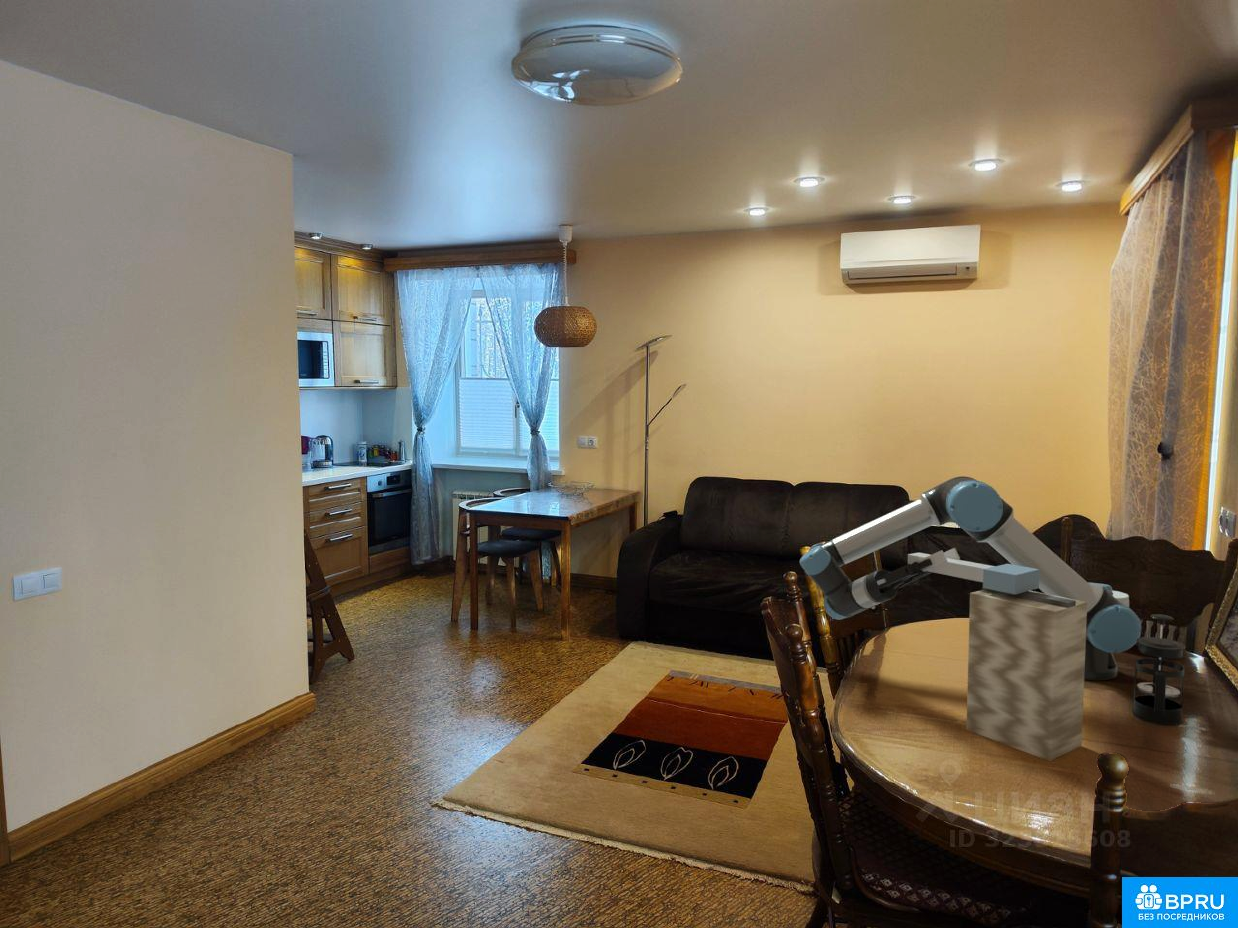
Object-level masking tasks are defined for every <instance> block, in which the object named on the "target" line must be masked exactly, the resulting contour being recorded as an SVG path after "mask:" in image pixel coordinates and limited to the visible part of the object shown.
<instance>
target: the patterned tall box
mask: <svg viewBox="0 0 1238 928" xmlns="http://www.w3.org/2000/svg"><path fill="white" fill-rule="evenodd" d="M968 619H969V621H968V624H969V625H968V657H967V658H968V660H967V662H968V663H967V691H966V693H967V698H966V699H967V700H966V731H969V732H971V733H974V734H977V735H980V736H982V737H985V738H988V739H990V740H993V741H995V742H998V743H1001V744H1003V745H1007V746H1009V747H1012V748H1014V749H1017V750H1019V751H1022V752H1024V753H1027V754H1031V755H1033V756H1036V757H1038V758H1041V759H1043V760H1047V761H1049V762H1051V761H1053V760H1055V759H1057V758H1059V757H1062V756H1064V755H1066V754H1068V753H1070V752H1072V751H1074V750H1075V749H1078V748H1080V747H1081V746H1083V745H1082V744H1083V722H1084V721H1083V719H1084V717H1083V715H1084V693H1085V679H1084V672H1085V646H1086V621H1087V602H1084V601H1079V600H1074V599H1069V598H1064V597H1059V596H1054V595H1049V594H1045V593H1044V592H1039V591H1035V590H1034V591H1033V590H1030V591H1026V592H1022V593H1019V594H1010V593H1005V592H1001V591H996V590H991V589H986V588H983V587H982V589H981V590H977V591H973V592H972V591H971V592H970V593H969V617H968Z"/></svg>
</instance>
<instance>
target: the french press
mask: <svg viewBox="0 0 1238 928" xmlns="http://www.w3.org/2000/svg"><path fill="white" fill-rule="evenodd" d="M1150 618H1152V619H1155V620H1158V624H1159V625H1160V627H1159V628H1160V629H1159V630H1160V631H1159V637H1157V636H1155V637H1154V636H1142V637H1141V636H1140V637H1139V638H1138V639H1137V642H1136V644H1138V651H1139V652H1140V653H1141V654H1145V655H1147V656H1151V657H1141V658H1137V659H1135V663H1134V664H1135V667H1134V668H1135V669H1134V688H1133V689H1134V690H1133V709H1132V710H1131V713H1132V716H1133V717H1136V718H1137V719H1138V720H1142V721H1143V722H1147V723H1151V724H1155V725H1159V726H1171V727H1172V726H1179V725H1182V724H1183V723H1184V719H1183V707H1184V706H1183V705H1184V704H1183V703H1184V687H1185V686H1184V685H1185V684H1184V683H1185V667H1184V665H1182V664H1180V663H1178V662H1175V661H1173V660H1172V661H1171V660H1168V659H1180V658H1183V656H1184V655H1183V653H1184V651H1183V650H1186V648H1187V647H1186V645H1185V644H1184V643H1182V642H1180V641H1176V640H1174V639H1171V638H1170V639H1169V638H1165V637H1163V626H1165V621H1173V620H1174V618H1173V617H1172V616H1169V615H1167V614H1166V615H1165V614H1160V613H1158V614H1157V613H1156V614H1151V615H1150ZM1154 657H1155V658H1154ZM1145 665H1153V668H1151V667H1146V666H1145ZM1164 667H1168V668H1173V669H1175V670H1176V671H1175V670H1174V671H1173V670H1172V671H1171V670H1164ZM1138 671H1140V672H1142V673H1144V674H1148V675H1151V676H1152V682H1145V681H1144V682H1139V683H1138V682H1137V676H1138V675H1137V673H1138ZM1167 678H1181V690H1180V689H1179V688H1176V687H1174V686H1172V685H1168V684H1167ZM1137 691H1138V692H1139V693H1142V694H1141V695H1137ZM1179 698H1180V702H1178V701H1176V700H1174V699H1179Z"/></svg>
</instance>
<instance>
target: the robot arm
mask: <svg viewBox="0 0 1238 928" xmlns="http://www.w3.org/2000/svg"><path fill="white" fill-rule="evenodd" d="M1014 514H1015V512H1014V508H1013V507H1012V506H1011V505H1010V504H1009V503H1008V502H1006V501H1005V500H1004V499H1003V498H1002V497H1001V496H1000V494H999V493H998V492H997V490H996V489H995V488H994V487H992V486H991V485H989V484H987V483H986V482H983V481H980V480H977V479H975V478H973V477H970V476H956V477H953V478H949V479H948V480H945V481H943V482H941V483H940V484H938V485H936V486H934V487H932V488H930V489H928V490H926V491H924V492H922V493H920V496H919V498H918V499H916V500H914V501H912V502H910V503H908V504H906V505H905V504H904V505H902V506H900V507H898V508H897V509H894V510H892V511H890V512H888V513H886V514H884V515H882V516H880V517H877V518H876V519H873V520H871V521H869V522H866V523H864V524H862V525H860V526H858V527H856V528H854V529H852V530H849V531H848V532H845V533H842V534H841V535H838V536H837V537H835V538H834V537H833V538H832V539H831V540H827V541H826V542H824V543H823V542H822V543H816V544H814V545H812V546H811V547H810V548H809V549H808V550H807V552H805V553H804V554H803V555H802V556H801V558H800V559H799V565H800V566H801V568H802V569H803V570H804V573H805V574H806V575H808V577H809V578H810V579H811V580H812V581H813V583H814V584H815V585H816V586H817V587H818V588H819V590H820V591H821V592H822V594H823V595H824V598H823V607H824V608H825V612H826V614H827V615H828V616H830V617H831V618H832V619H834V620H837V621H838V620H839V621H840V620H845V619H846V618H851V617H853V616H854V615H857V614H859V613H862V612H864V611H866V610H868V609H871V610H875V609H876V606H878V605H879V604H883V603H886V602H887V601H890V600H892V599H894V598H895V597H896V596H897V594H898V588H899V589H900V588H902V587H906V585H908V584H910V583H913V582H915V581H917V580H919V579H920V578H923V577H925V576H928V575H931V574H932V573H933V572H929V571H928V570H930V569H932V568H934V567H937V566H939V565H941V564H943V563H946V562H948V561H947V559H946V558H952V559H957V560H961V557H960V555H959V553H958V551H957V549H956V547H952V548H951V549H949V550H946V551H945V552H944V551H943V549H942V550H939V551H936V552H934V553H932V554H930V556H928V557H926V558H923V559H921V560H919V563H918V562H914V563H912V564H908V563H907V564H906V565H903V566H901V567H897V569H895V570H892V571H888V570H886V569H882V568H881V569H877V570H874V571H873V572H871V573H869V574H866V575H864V576H862V577H859V578H857V579H855V580H854V581H851V579H850V578H849V576H848V575H846V574H845V572H844V571H843V570H842V568H841V567H842V566H844V565H847V564H849V563H851V562H854V561H856V560H858V559H860V558H863V557H865V556H867V555H869V554H871V553H874V552H876V551H878V550H880V549H882V548H884V547H888V546H890V545H891V544H893V543H895V542H898V541H899V540H902V539H904V538H908V537H909V536H912V535H913V534H915V533H918V532H920V531H922V530H924V529H926V528H929V527H932V526H937V527H941V526H942V525H945V524H948V523H951V522H954V524H955V525H956V526H958V527H959V528H960V529H962V530H963V531H964V532H965V533H967V535H969V536H970V537H971V538H972V539H973V540H974V541H976V543H988V545H990V546H991V547H992V548H993V549H995V551H997V553H999V554H1000V555H1001V556H1002V557H1003V558H1004V559H1005V560H1007V561H1008V562H1009V564H1012V565H1018V566H1023V567H1029V568H1035V569H1040V574H1039V588H1038V589H1039V590H1040V591H1041V592H1042V593H1044V594H1049V595H1054V596H1059V597H1064V598H1069V599H1074V600H1079V601H1084V602H1087V621H1086V646H1085V672H1084V680H1090V681H1106V680H1107V681H1108V680H1112V679H1115V678H1117V676H1118V665H1117V664H1118V663H1117V661H1116V659H1115V656H1114V654H1117V653H1123V652H1125V651H1128V650H1129V649H1131V648H1133V646H1134V645H1136V644H1137V639H1138V638H1141V634H1142V623H1141V620H1140V618H1139V616H1138V615H1137V614H1136V612H1135V611H1133V609H1131V608H1130V607H1129V608H1128V607H1126V606H1124V605H1123V604H1122V603H1120V602H1119V601H1118V600H1117V599H1116V598H1115V597H1113V592H1112V591H1113V587H1112V586H1111V585H1109V584H1106V583H1105V584H1104V583H1097V582H1089V581H1088V582H1087V581H1086V580H1085V579H1084V578H1083V577H1082V576H1081V575H1080V574H1078V573H1077V571H1075V570H1074V569H1073V568H1072V567H1071V566H1070V565H1069V564H1067V563H1066V562H1065V561H1064V560H1062V559H1061V558H1060V557H1059V556H1058V555H1057V554H1056V553H1054V552H1053V550H1051V549H1050V548H1049V547H1048V546H1047V545H1045V544H1044V543H1043V542H1042V541H1041V540H1040V539H1039V538H1037V537H1036V536H1035V534H1033V533H1032V532H1031V531H1029V530H1028V529H1027V528H1026V527H1025V526H1024V525H1023V524H1022V523H1020V521H1018V520H1017V519H1016V518H1015V517H1014ZM921 569H922V570H921Z"/></svg>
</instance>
